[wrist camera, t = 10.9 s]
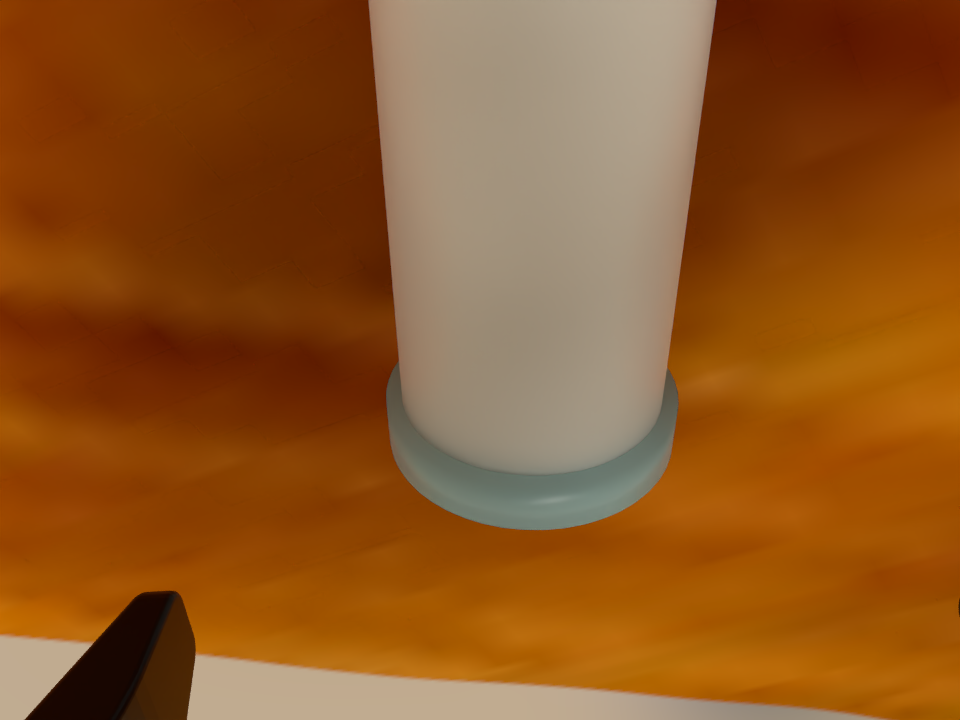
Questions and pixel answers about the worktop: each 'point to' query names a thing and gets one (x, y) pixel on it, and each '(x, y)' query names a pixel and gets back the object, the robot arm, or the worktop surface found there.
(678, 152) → the cylinder
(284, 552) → the worktop surface
